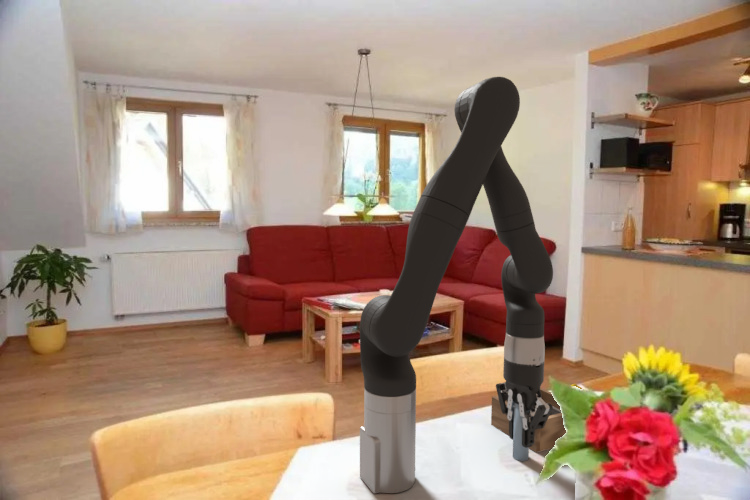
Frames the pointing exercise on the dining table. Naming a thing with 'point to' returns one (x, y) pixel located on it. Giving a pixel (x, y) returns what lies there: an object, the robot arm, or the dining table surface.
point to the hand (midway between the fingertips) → (521, 441)
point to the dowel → (519, 436)
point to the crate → (542, 436)
